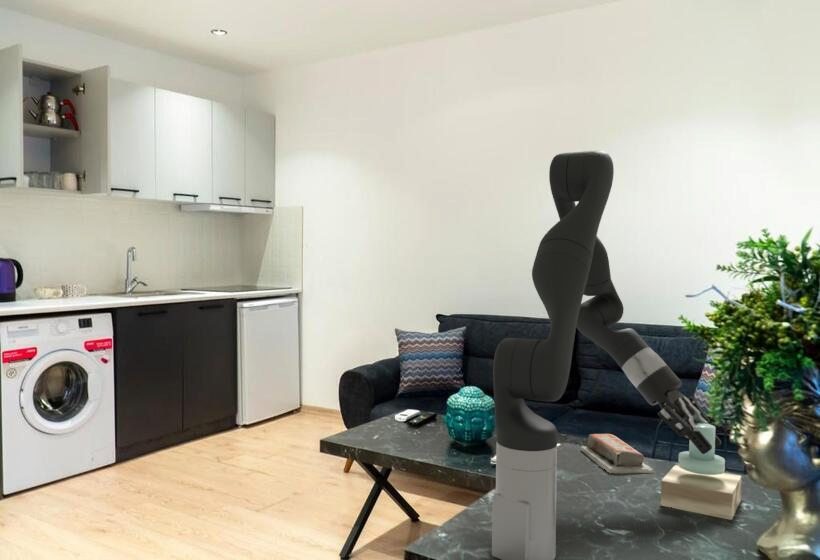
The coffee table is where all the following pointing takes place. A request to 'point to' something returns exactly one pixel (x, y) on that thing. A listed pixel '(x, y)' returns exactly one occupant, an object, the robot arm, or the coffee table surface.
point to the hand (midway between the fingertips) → (712, 448)
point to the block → (701, 492)
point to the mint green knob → (702, 455)
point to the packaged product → (614, 455)
